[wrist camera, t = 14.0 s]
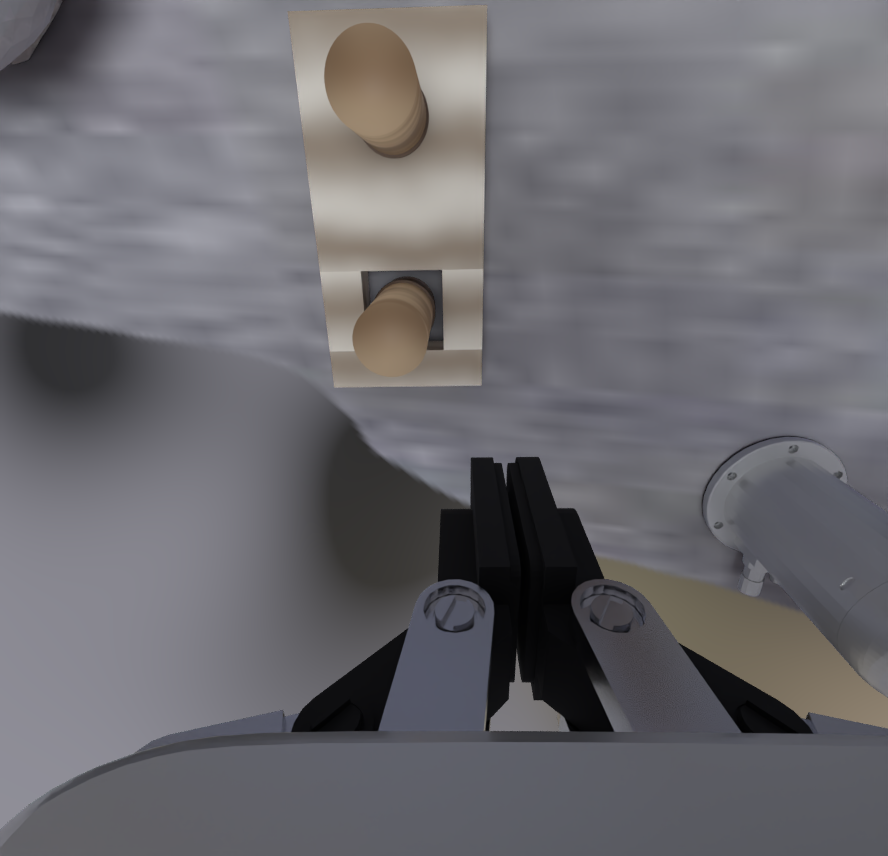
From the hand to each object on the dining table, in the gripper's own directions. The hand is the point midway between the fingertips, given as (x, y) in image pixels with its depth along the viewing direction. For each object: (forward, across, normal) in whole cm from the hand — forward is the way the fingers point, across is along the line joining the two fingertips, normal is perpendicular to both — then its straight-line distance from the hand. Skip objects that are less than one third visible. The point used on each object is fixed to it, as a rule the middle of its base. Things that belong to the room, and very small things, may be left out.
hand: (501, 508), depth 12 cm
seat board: (+29, +5, -6) cm, 30 cm away
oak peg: (+29, +5, 0) cm, 30 cm away
